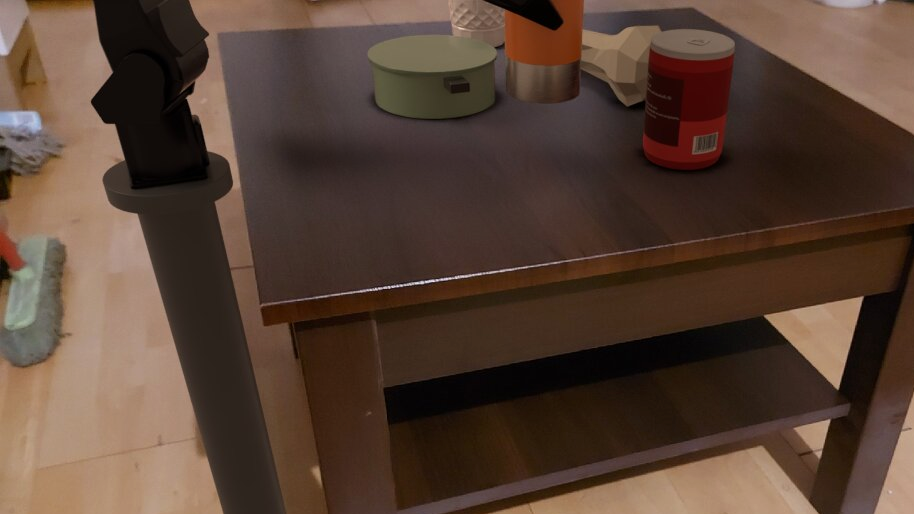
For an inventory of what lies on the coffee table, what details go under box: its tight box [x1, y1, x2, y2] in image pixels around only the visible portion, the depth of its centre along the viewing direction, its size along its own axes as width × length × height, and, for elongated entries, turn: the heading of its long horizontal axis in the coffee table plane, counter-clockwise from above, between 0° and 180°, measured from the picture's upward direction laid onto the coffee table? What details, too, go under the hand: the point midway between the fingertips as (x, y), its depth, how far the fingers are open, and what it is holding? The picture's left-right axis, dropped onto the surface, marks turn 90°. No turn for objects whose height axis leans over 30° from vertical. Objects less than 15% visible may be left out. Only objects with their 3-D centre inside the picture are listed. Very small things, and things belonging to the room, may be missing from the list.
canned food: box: [642, 28, 736, 171], centre depth 82 cm, size 8×8×11 cm
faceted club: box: [581, 25, 663, 108], centre depth 101 cm, size 9×8×25 cm
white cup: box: [447, 0, 505, 48], centre depth 111 cm, size 8×8×10 cm
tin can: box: [504, 0, 585, 105], centre depth 74 cm, size 7×7×13 cm
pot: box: [366, 34, 498, 120], centre depth 94 cm, size 14×17×5 cm
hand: (560, 15), depth 74 cm, fingers closed on tin can, 7 cm apart
